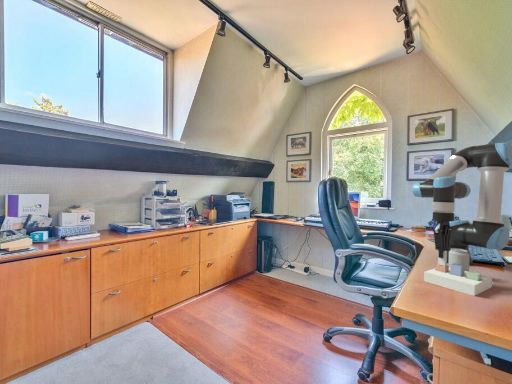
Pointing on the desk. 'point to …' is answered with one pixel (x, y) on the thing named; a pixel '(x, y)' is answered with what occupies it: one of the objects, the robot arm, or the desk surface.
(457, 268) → the slate button
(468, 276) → the sage button
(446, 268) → the terracotta button
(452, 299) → the desk surface
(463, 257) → the can
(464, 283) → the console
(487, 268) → the desk surface
